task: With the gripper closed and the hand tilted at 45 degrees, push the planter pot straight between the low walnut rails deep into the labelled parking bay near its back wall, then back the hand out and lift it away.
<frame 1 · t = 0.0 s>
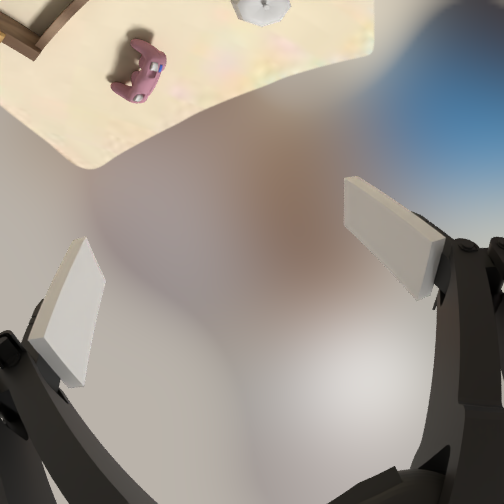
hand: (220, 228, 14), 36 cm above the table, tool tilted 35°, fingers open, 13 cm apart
video game controller: (137, 64, 36), on the table
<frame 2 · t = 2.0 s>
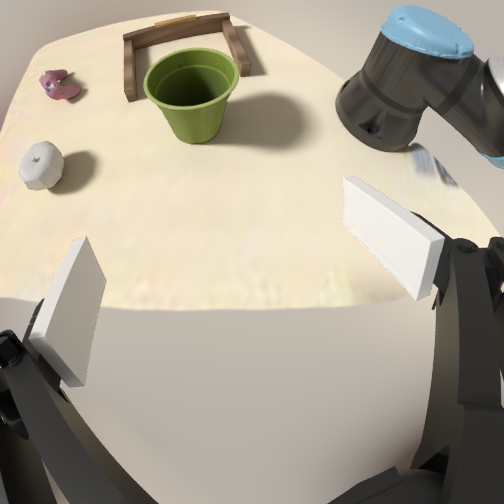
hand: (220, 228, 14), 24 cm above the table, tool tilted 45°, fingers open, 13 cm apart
parking bay: (182, 59, 45), on the table
apple: (53, 177, 39), on the table
plant pot: (198, 126, 42), on the table
video game controller: (63, 91, 43), on the table
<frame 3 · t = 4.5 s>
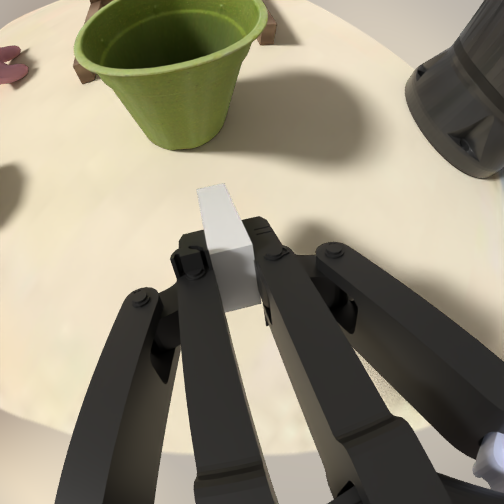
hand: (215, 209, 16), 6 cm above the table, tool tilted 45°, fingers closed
parking bay: (170, 21, 27), on the table
plant pot: (186, 119, 24), on the table
video game controller: (10, 75, 25), on the table
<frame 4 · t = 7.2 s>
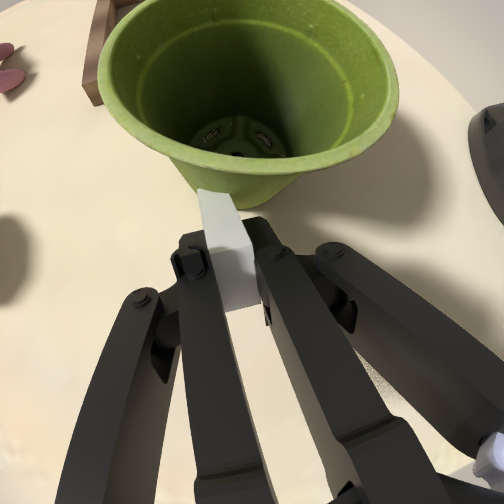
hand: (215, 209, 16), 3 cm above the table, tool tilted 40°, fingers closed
parking bay: (204, 23, 22), on the table
plant pot: (238, 162, 20), on the table, touching gripper
video game controller: (3, 80, 20), on the table
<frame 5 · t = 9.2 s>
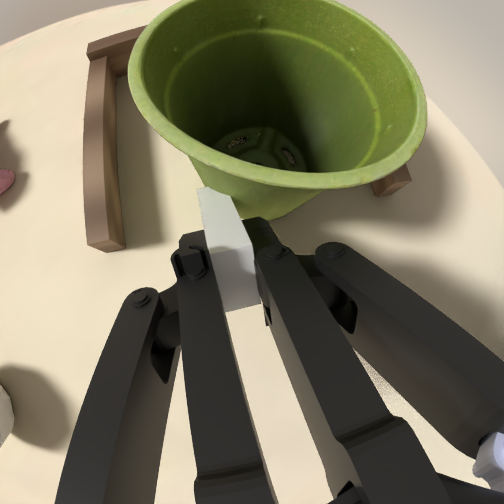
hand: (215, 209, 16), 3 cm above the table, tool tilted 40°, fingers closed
parking bay: (233, 118, 21), on the table
apple: (0, 400, 16), on the table
plant pot: (258, 173, 20), on the table, touching gripper
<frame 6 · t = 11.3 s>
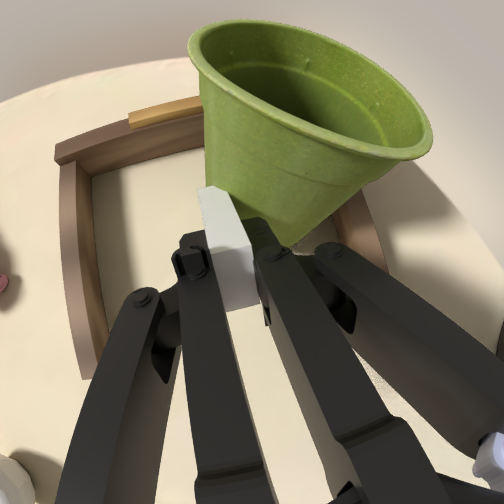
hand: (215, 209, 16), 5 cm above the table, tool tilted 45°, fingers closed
parking bay: (212, 235, 21), on the table
apple: (19, 474, 15), on the table
plant pot: (259, 210, 21), point 1 cm above the table, touching gripper
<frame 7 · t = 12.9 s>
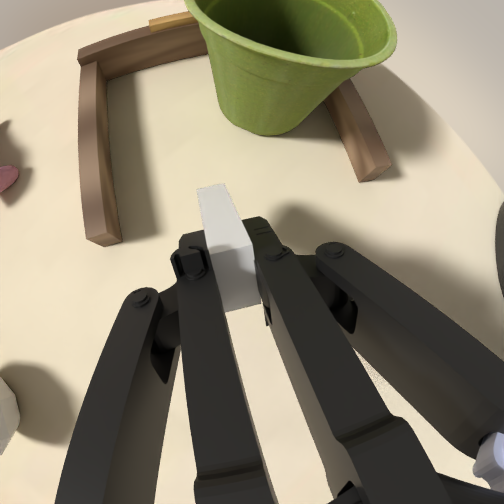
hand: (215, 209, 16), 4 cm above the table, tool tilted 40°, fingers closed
parking bay: (219, 114, 22), on the table
apple: (5, 399, 17), on the table
plant pot: (264, 102, 22), on the table
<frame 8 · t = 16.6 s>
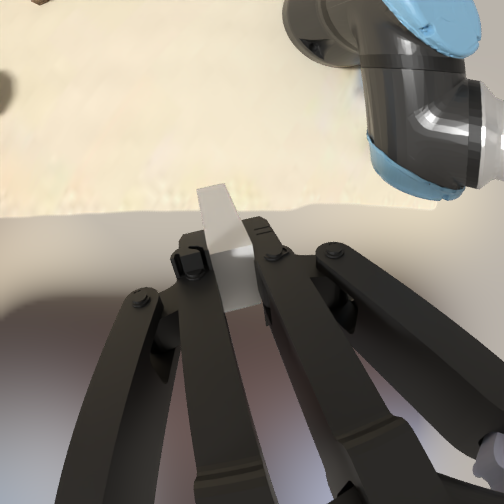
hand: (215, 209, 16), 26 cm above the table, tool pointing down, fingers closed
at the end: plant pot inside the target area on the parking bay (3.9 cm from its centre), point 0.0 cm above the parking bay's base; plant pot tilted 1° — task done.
